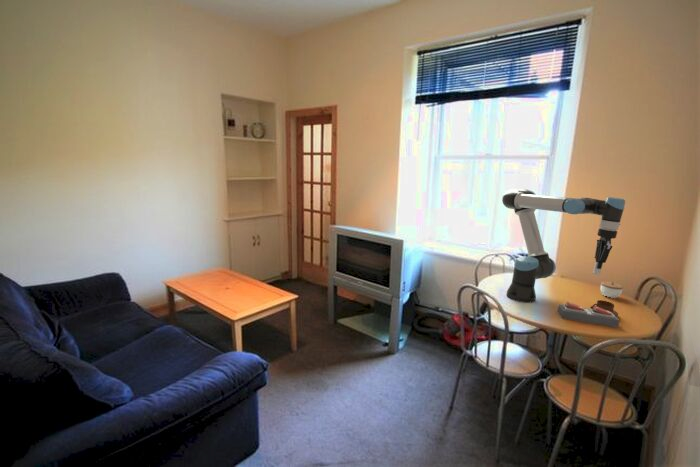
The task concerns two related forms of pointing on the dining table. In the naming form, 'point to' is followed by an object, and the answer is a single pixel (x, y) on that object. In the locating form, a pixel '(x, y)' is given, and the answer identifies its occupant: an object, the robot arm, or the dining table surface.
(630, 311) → the dining table surface
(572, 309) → the power strip
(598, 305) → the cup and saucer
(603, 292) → the lidded jar
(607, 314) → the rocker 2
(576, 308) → the rocker
